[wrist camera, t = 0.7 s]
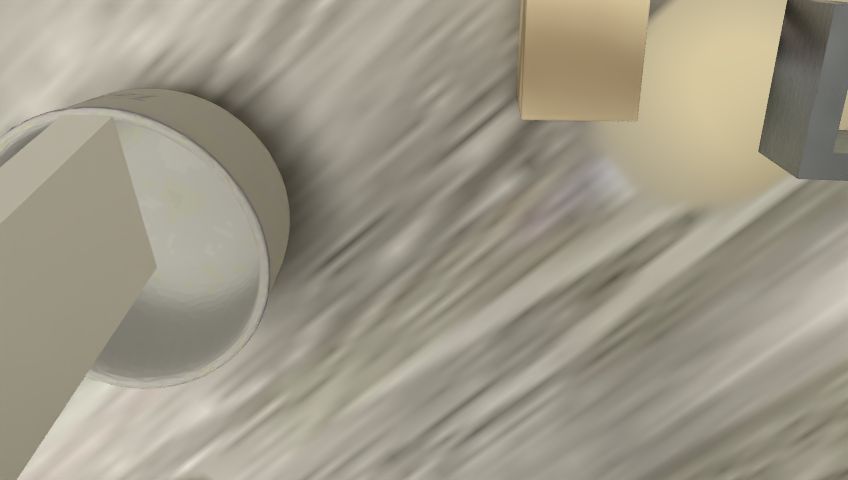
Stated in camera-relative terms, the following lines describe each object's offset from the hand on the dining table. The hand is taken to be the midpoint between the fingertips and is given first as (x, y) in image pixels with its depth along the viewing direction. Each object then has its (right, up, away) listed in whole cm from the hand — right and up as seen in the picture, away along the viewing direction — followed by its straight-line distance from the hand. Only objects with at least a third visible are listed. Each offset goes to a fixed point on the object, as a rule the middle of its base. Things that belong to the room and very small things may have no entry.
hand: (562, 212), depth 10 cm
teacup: (-13, +1, +22) cm, 26 cm away
